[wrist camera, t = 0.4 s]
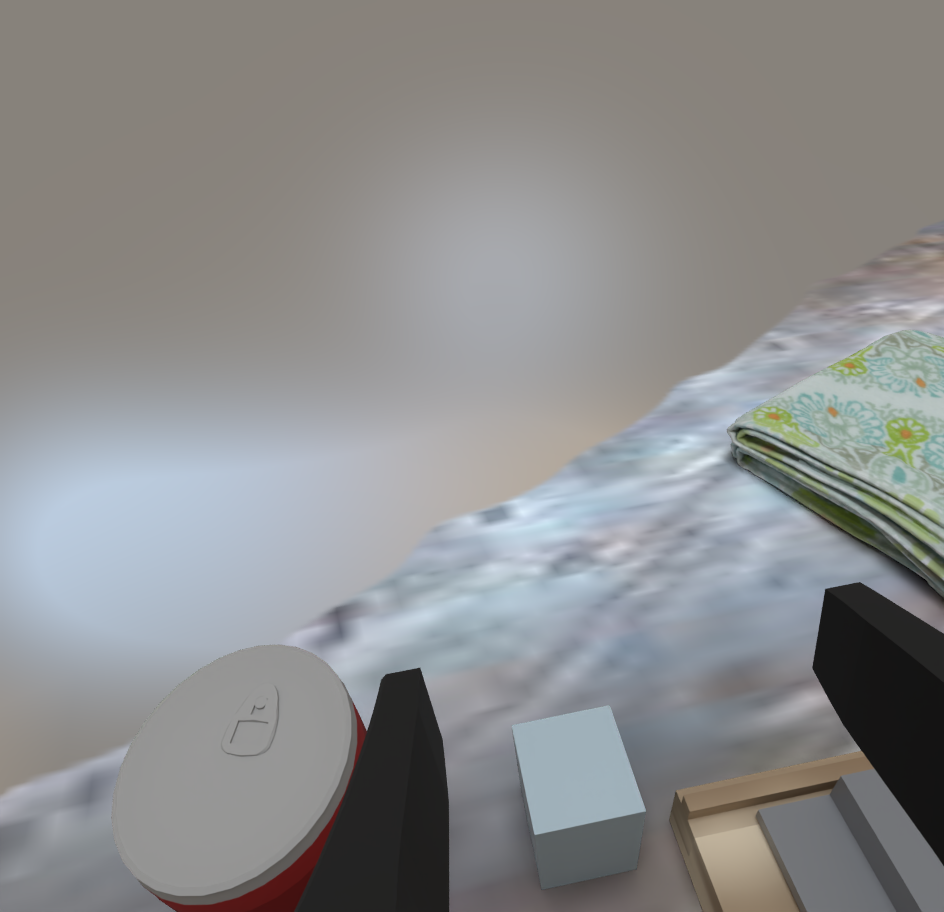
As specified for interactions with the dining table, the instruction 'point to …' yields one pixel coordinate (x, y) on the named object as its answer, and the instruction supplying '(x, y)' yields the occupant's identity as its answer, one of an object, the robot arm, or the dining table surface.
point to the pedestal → (746, 832)
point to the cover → (854, 851)
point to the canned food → (238, 782)
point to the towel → (863, 447)
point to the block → (579, 796)
